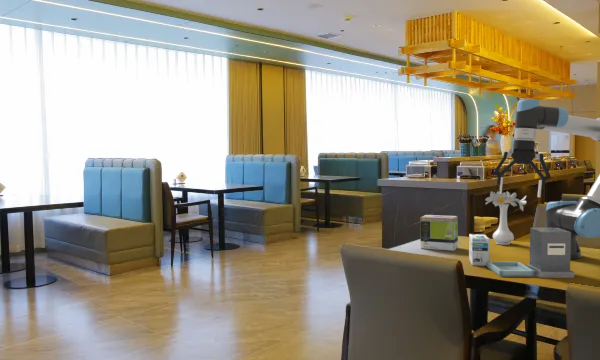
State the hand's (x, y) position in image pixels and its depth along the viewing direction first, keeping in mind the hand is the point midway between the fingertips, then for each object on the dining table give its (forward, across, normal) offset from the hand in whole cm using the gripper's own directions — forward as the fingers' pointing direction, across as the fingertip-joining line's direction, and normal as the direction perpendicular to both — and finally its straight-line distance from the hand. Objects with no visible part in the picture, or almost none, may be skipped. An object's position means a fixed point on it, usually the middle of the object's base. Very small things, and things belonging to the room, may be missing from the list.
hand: (519, 195), depth 195 cm
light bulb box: (+28, -12, +2) cm, 31 cm away
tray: (+28, -2, -10) cm, 29 cm away
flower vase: (+26, -2, +48) cm, 55 cm away
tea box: (+29, -30, +28) cm, 50 cm away
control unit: (+27, +12, -8) cm, 30 cm away
